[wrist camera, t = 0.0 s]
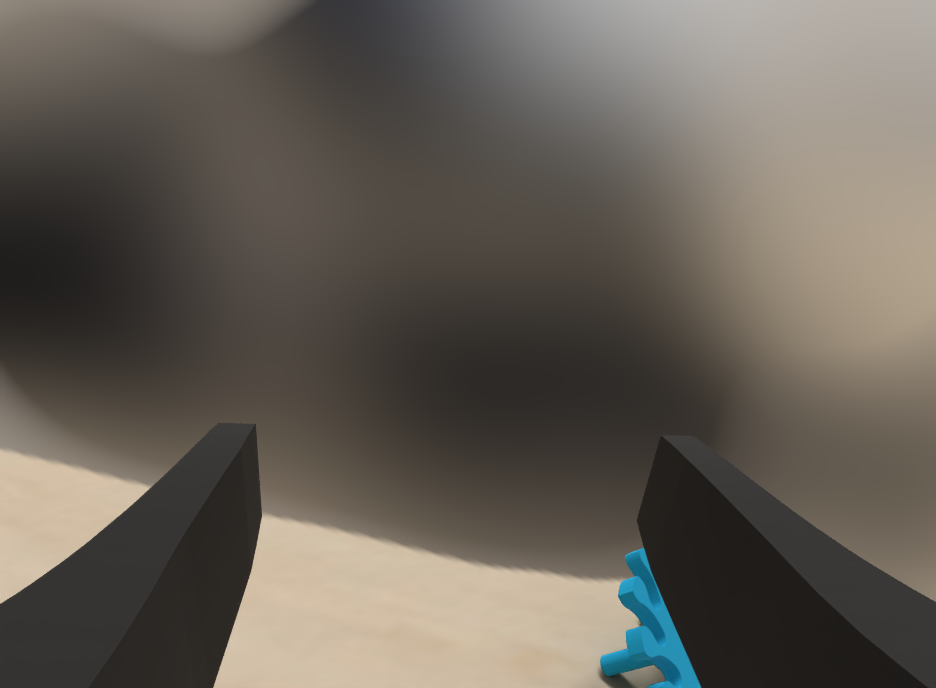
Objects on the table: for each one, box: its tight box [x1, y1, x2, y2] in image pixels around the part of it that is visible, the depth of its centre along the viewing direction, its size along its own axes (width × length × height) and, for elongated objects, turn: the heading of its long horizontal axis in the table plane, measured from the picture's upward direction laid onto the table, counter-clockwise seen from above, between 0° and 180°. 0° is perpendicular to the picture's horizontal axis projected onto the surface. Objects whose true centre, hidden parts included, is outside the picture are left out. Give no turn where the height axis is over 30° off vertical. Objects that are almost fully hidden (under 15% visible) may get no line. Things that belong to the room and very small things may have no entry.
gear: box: [600, 548, 701, 688], centre depth 33 cm, size 11×6×10 cm
